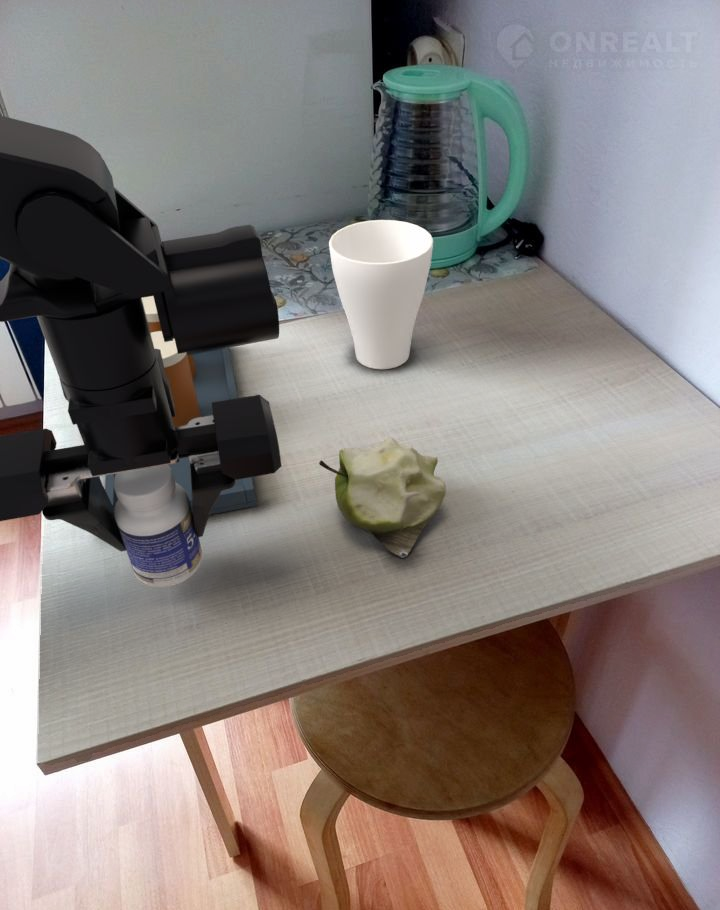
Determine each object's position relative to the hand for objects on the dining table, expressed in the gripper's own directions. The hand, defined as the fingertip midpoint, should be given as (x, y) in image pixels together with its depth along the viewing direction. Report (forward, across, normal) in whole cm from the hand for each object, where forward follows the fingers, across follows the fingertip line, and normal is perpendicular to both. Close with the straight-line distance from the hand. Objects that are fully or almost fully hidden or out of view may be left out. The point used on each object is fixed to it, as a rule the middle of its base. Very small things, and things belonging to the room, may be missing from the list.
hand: (162, 539), depth 53 cm
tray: (+5, -1, -20) cm, 21 cm away
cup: (+5, -24, -27) cm, 36 cm away
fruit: (+5, -18, -3) cm, 19 cm away
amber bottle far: (+4, -1, -28) cm, 29 cm away
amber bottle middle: (+4, -1, -20) cm, 20 cm away
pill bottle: (+3, 0, 0) cm, 3 cm away
